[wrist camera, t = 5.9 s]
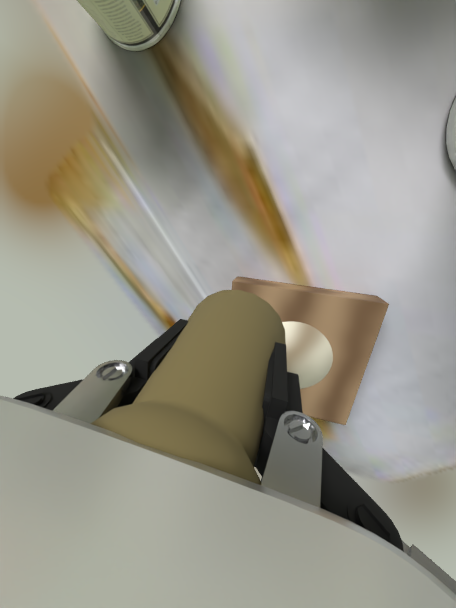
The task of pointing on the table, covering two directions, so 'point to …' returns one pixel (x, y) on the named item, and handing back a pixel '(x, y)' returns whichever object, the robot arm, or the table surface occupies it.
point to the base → (323, 340)
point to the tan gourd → (208, 387)
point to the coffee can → (133, 20)
